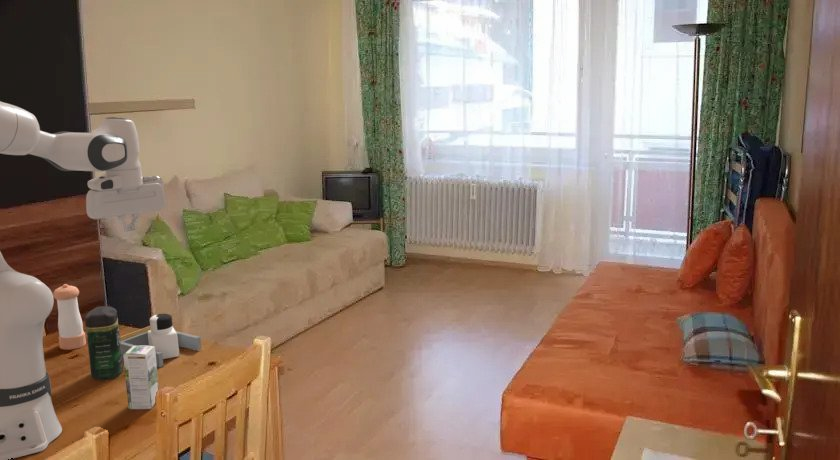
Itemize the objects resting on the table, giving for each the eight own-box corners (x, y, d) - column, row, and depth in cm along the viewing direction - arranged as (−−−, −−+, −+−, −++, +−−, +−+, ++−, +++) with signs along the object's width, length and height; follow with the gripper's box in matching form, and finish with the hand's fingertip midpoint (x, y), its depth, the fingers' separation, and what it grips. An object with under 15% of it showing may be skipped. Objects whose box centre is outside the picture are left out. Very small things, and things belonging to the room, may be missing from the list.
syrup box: (137, 399, 186) (131, 345, 183) (160, 399, 186) (155, 344, 183) (128, 409, 181) (121, 353, 177) (152, 409, 180) (146, 353, 177)
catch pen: (160, 367, 206) (158, 349, 205) (117, 355, 216) (115, 338, 214) (201, 349, 218) (199, 333, 217) (159, 339, 228) (157, 322, 227)
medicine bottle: (174, 348, 220) (171, 310, 217) (179, 356, 214) (175, 316, 211) (149, 353, 217) (145, 314, 214) (153, 361, 210) (149, 321, 208)
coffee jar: (121, 379, 199) (113, 313, 195) (89, 382, 197) (80, 316, 193) (125, 365, 208) (118, 302, 204) (95, 368, 206) (87, 305, 202)
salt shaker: (64, 341, 228) (56, 281, 224) (89, 340, 228) (81, 280, 224) (56, 350, 221) (47, 288, 216) (81, 348, 221) (73, 287, 217)
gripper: (157, 173, 204) (162, 223, 207) (80, 182, 191) (87, 235, 193) (167, 175, 200) (172, 226, 203) (89, 185, 186) (96, 238, 189)
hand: (130, 230), depth 198 cm, fingers closed
